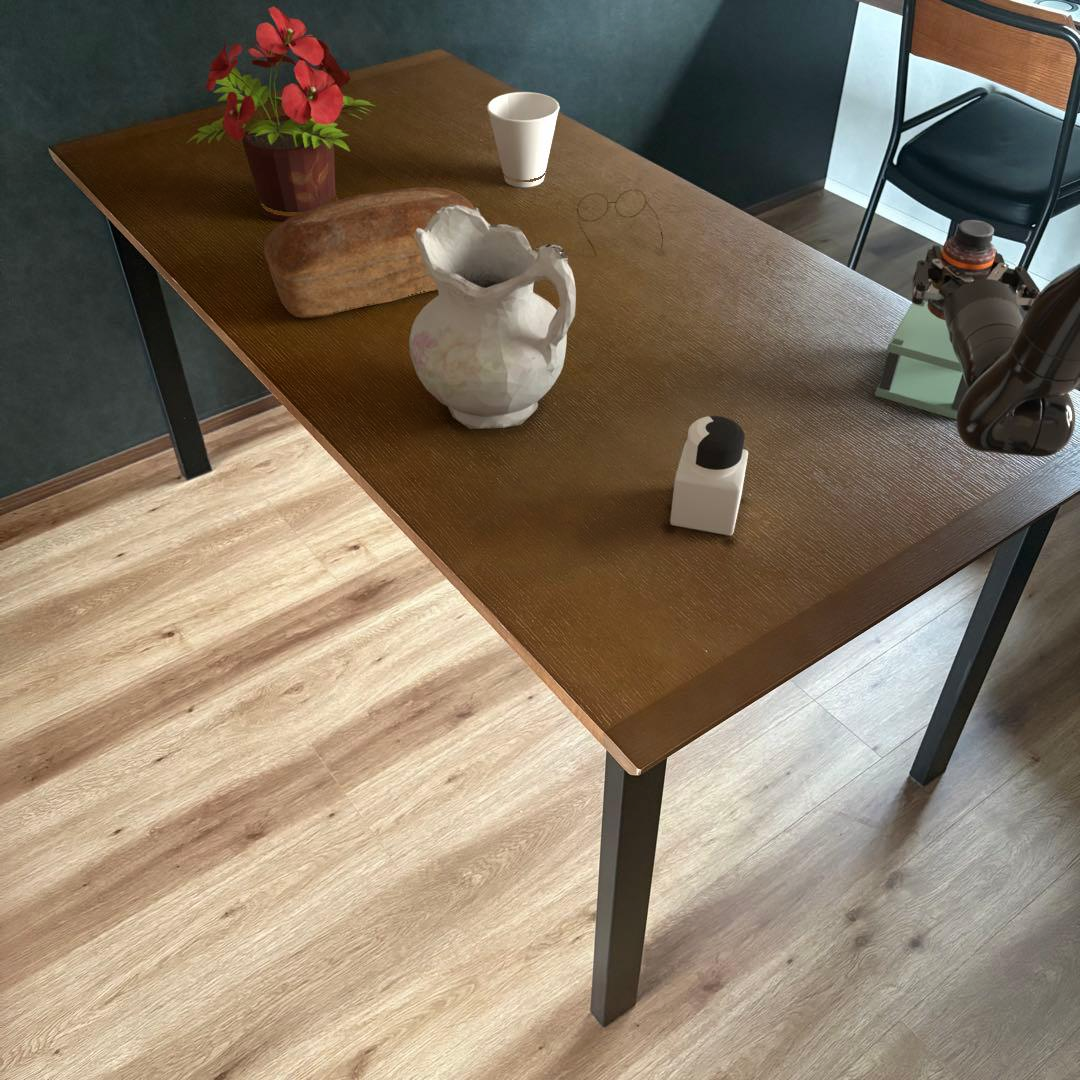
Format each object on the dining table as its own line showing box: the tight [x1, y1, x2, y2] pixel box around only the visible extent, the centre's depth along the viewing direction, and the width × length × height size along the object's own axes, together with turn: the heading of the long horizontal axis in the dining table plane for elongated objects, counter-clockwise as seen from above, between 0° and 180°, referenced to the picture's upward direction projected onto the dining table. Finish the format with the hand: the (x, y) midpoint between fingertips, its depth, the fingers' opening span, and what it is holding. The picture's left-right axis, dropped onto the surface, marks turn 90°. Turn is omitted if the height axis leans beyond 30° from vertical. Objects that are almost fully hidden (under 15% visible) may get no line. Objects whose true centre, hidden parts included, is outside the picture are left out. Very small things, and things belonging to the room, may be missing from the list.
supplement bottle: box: [927, 219, 997, 320], centre depth 129 cm, size 6×6×11 cm
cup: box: [486, 91, 561, 188], centre depth 180 cm, size 12×12×12 cm
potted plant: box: [186, 6, 378, 222], centre depth 169 cm, size 30×27×30 cm
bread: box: [263, 186, 476, 320], centre depth 154 cm, size 12×31×14 cm, turn 114°
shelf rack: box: [874, 300, 968, 421], centre depth 138 cm, size 11×12×8 cm
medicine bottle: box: [669, 415, 749, 537], centre depth 120 cm, size 7×7×12 cm
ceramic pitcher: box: [408, 204, 577, 430], centre depth 130 cm, size 22×20×25 cm
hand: (961, 254), depth 131 cm, fingers closed on supplement bottle, 6 cm apart
